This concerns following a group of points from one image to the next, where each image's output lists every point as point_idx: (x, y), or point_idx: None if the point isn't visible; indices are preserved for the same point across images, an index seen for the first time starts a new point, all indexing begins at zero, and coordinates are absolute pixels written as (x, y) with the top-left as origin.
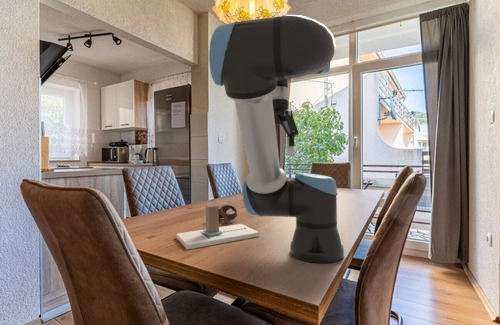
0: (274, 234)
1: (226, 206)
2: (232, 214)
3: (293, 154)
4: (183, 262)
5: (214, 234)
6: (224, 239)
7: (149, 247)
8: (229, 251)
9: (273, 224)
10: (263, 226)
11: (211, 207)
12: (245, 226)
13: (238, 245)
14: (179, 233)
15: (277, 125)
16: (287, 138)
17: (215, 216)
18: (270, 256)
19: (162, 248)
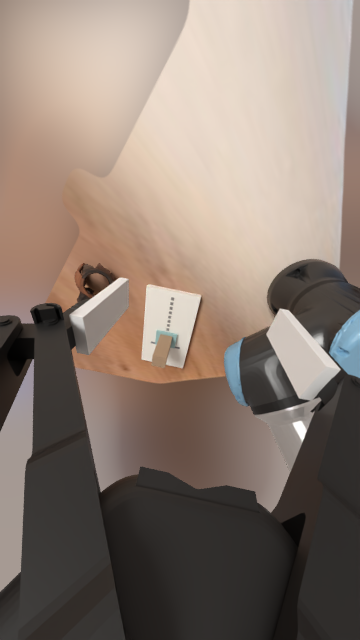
0: (210, 272)
1: (83, 284)
2: (111, 283)
3: (289, 314)
4: (207, 377)
5: (175, 342)
6: (190, 337)
7: (156, 378)
8: (215, 345)
9: (165, 227)
10: (164, 252)
11: (165, 365)
12: (163, 291)
13: (208, 331)
14: (142, 357)
15: (89, 451)
16: (307, 395)
17: (168, 352)
18: (258, 330)
19: (165, 374)
